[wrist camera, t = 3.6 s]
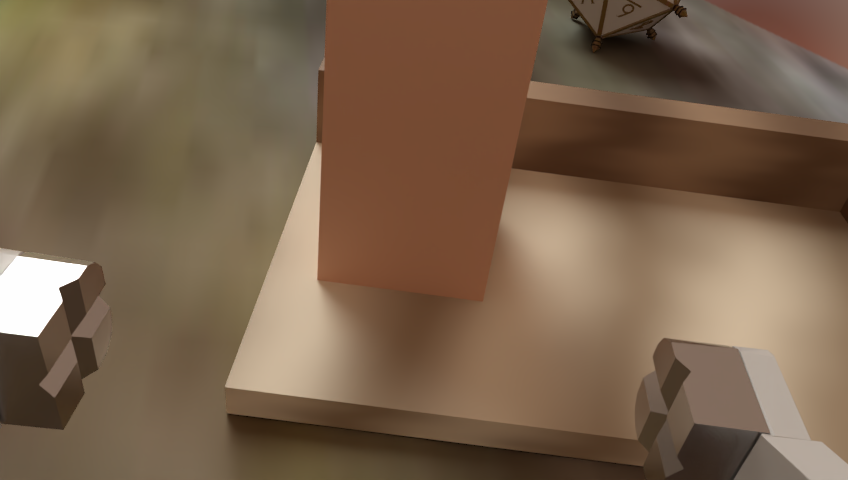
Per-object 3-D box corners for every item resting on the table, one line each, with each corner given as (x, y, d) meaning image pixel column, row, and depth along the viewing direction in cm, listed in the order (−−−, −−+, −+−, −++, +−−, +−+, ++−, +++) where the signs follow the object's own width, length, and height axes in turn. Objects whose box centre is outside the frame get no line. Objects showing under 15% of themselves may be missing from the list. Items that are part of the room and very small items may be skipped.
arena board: (226, 413, 19) (218, 297, 17) (322, 145, 30) (325, 53, 28) (1061, 519, 19) (1170, 421, 17) (850, 215, 31) (898, 130, 28)
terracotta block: (317, 280, 22) (332, -172, 15) (343, 189, 26) (365, -202, 19) (482, 301, 22) (577, -138, 15) (483, 208, 26) (558, -175, 19)
